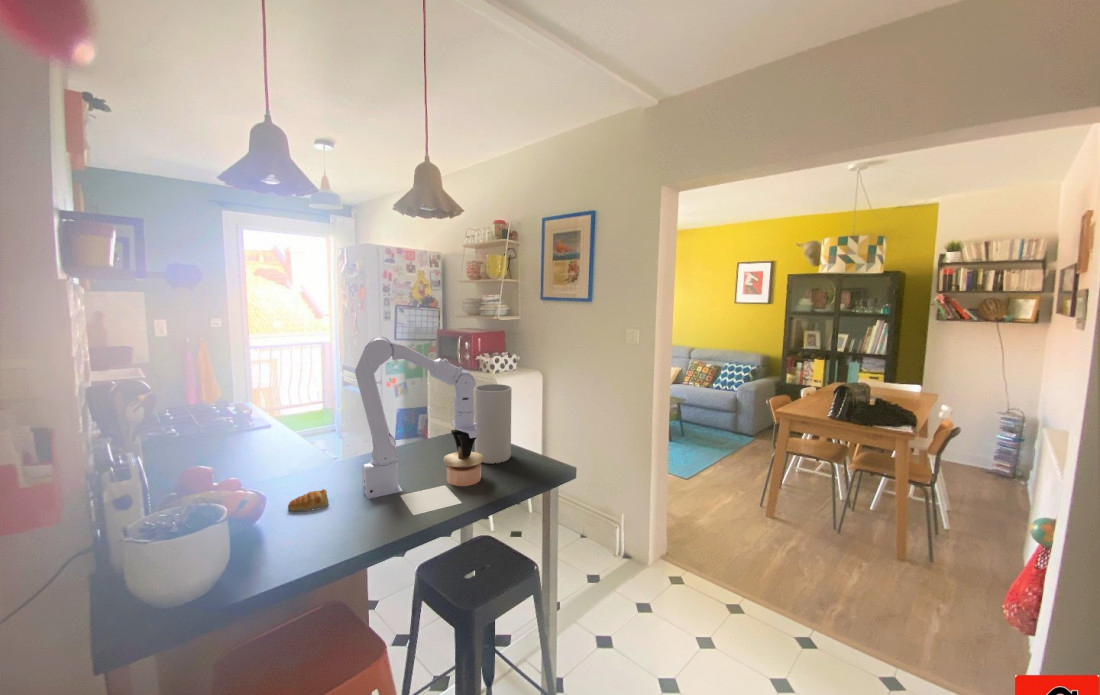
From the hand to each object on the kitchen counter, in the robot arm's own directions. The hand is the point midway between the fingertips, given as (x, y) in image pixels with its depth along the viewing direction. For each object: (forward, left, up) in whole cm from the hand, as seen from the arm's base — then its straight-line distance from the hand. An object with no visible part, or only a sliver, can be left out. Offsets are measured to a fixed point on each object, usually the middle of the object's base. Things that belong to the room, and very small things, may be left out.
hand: (464, 454), depth 132 cm
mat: (-13, -8, -8) cm, 17 cm away
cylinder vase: (+16, +13, -8) cm, 22 cm away
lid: (0, 0, -2) cm, 2 cm away
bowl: (0, 0, -8) cm, 8 cm away
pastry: (-41, +6, -9) cm, 42 cm away
